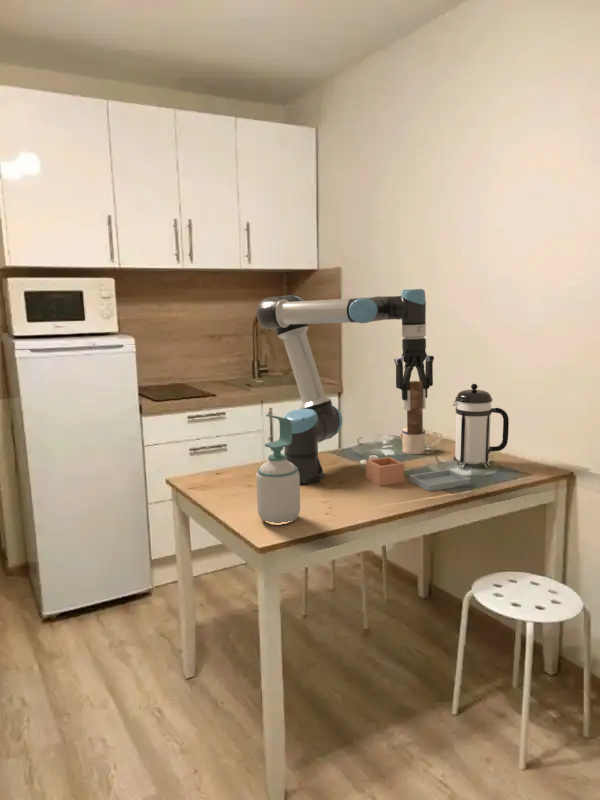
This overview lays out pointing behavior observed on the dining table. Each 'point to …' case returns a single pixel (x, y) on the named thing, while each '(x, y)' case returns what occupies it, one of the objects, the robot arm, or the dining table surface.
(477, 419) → the coffee press
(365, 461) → the teacup and saucer
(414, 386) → the walnut dowel
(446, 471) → the slate tray
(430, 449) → the dining table surface
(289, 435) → the soap bottle
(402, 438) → the teacup with lid
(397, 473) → the terracotta square box
